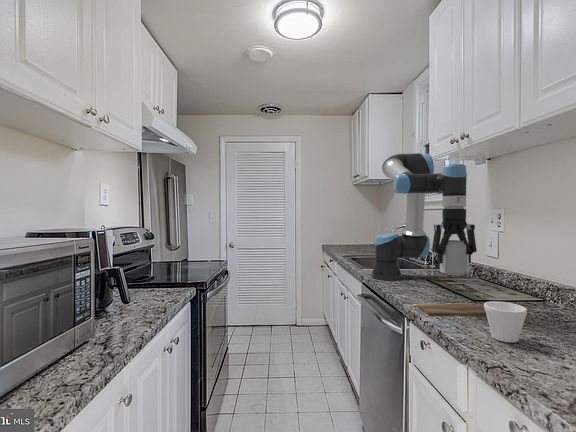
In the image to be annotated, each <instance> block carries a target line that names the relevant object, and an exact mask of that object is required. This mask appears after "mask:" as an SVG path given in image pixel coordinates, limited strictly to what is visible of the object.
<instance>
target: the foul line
mask: <svg viewBox="0 0 576 432" xmlns="http://www.w3.org/2000/svg"><path fill="white" fill-rule="evenodd" d="M418 304H419V303H414V304H413V303H412V304H411V306H412V307H417V305H418ZM461 304H476V303H469V302H468V303H467V302H466V303H461Z"/></svg>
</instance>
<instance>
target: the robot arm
mask: <svg viewBox="0 0 576 432" xmlns="http://www.w3.org/2000/svg"><path fill="white" fill-rule="evenodd" d="M434 164H435V163H434V160H433V157H432V155H430V154H429V153H421V152H418V153H417V152H416V153H398V154H393V155H391V156H389V157H387V159H385V160H384V161H383V164H382V168H381V169H382V173H383V174H384V176H385V177H386V178H388V179H391V180H392V183H393V186H392V187H393V191H394V193H395V194H401V195H402V194H403V195H406V209H405V210H406V212H405V229H404V230H403V231H402V233H401V234H402V235H399V234H398V233H397V232H394V233H393V232H392V233H391V232H390V233H382V234H378V235H376V236H375V237H374V238H375V240H374V254H375V255H374V257H375V258H374V260H375V261H374V265H373V268H372V272H371V277H372V279H375V280H380V281H398V280H401V279H402V275H403V274H402V271H401V269H400V265H399V259H423V258H426V257H427V255H428V254H429V251H430V248H431V251H432V252H433V253H435V254H437V263H438V264H439V272H440V273H442V274H445V273H446V255H445V254H443V253H444V251H445V248H446V245H447V243H448V241H449V240H450V238H452V236H453V235H456V236H457V237H458V239H459V241H464V244H465V245H466V273H465V274H468V273H469V271H470V269H469V268H470V266H469V265H470V264H471V261H472V255H473V254H474V253H477V251H478V250H477V243H476V234H475V229H476V226H475V224H471V223H467V220H466V219H467V209H466V207H467V177H468V173H467V166H466V164H464V163H451V164H450V163H449V164H445V165H443V166H442V171H441V173H440V172H439V173H435V165H434ZM426 194H442V201H441V203H442V208H443V209H442V212H441V213H442V214H441V215H442V217H441V218H442V222H441V223H439V224H434V225H433V229H434V232H433V233H434V234H433V241H432V247H430V246H431V243H430V237H429V236H427V233H426V231H425V230H424V221H425V220H424V219H425V217H424V216H425V203H426V201H425V199H426ZM442 230H444V231H443V234H442ZM465 230H466V232H465ZM441 236H442V237H441ZM466 236H467V237H466Z"/></svg>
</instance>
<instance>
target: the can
mask: <svg viewBox="0 0 576 432" xmlns="http://www.w3.org/2000/svg"><path fill="white" fill-rule="evenodd" d="M443 254H445V255H446V273H444V274H445V275H448V276H455V277H457V276H458V277H460V276H464V275H465V274H467V273H466V245H465V244H464V241H460V240H457V239H454V240H453V239H449V241H448V243H447V245H446V248H445V251H444V253H443Z"/></svg>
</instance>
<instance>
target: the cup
mask: <svg viewBox="0 0 576 432" xmlns="http://www.w3.org/2000/svg"><path fill="white" fill-rule="evenodd" d="M483 308H484V309H485V311H486V314H487V315H486V317H487V322H488V326H489V329H490V330H489V331H490V335H491V338H492V339H493V340H496V341H497V342H500V343H505V344H516V343H518V342H519V339H520V337H521V333H522V329H523V327H524V323H525V320H526V316H528V315H527V314H528V313H527V312H528V310H527V308H526V307H524V306H523V305H519V304H516V303H512V302H506V301H495V300H494V301H487V302H484V304H483Z"/></svg>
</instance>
